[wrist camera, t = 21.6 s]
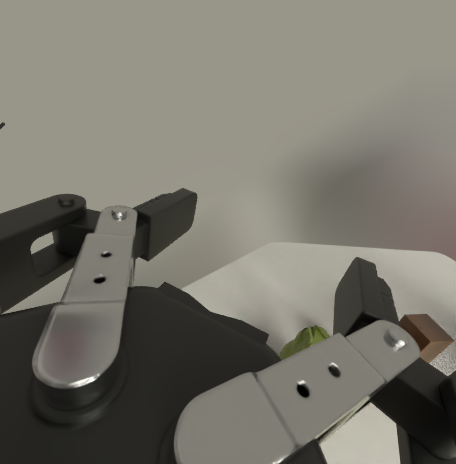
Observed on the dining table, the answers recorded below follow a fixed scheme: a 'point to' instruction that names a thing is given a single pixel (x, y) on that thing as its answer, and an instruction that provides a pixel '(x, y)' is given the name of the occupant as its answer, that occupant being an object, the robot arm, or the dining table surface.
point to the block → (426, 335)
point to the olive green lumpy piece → (304, 341)
